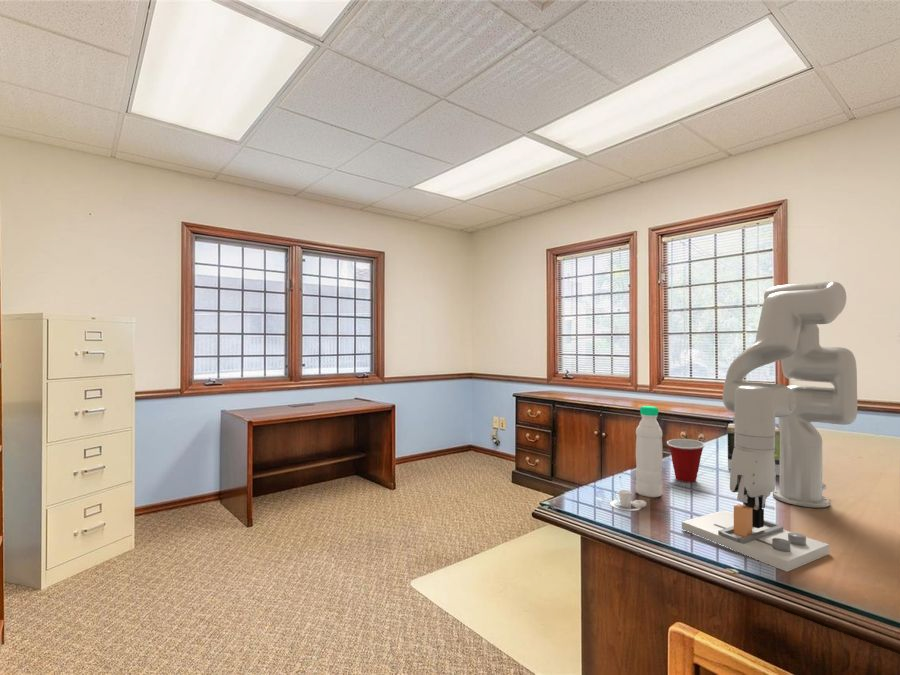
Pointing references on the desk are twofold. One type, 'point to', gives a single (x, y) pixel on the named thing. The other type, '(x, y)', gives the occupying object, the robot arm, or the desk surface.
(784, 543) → the console
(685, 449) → the plastic cup
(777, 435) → the tea box
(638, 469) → the water bottle
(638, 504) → the white ring with post
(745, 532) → the block
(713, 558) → the desk surface
